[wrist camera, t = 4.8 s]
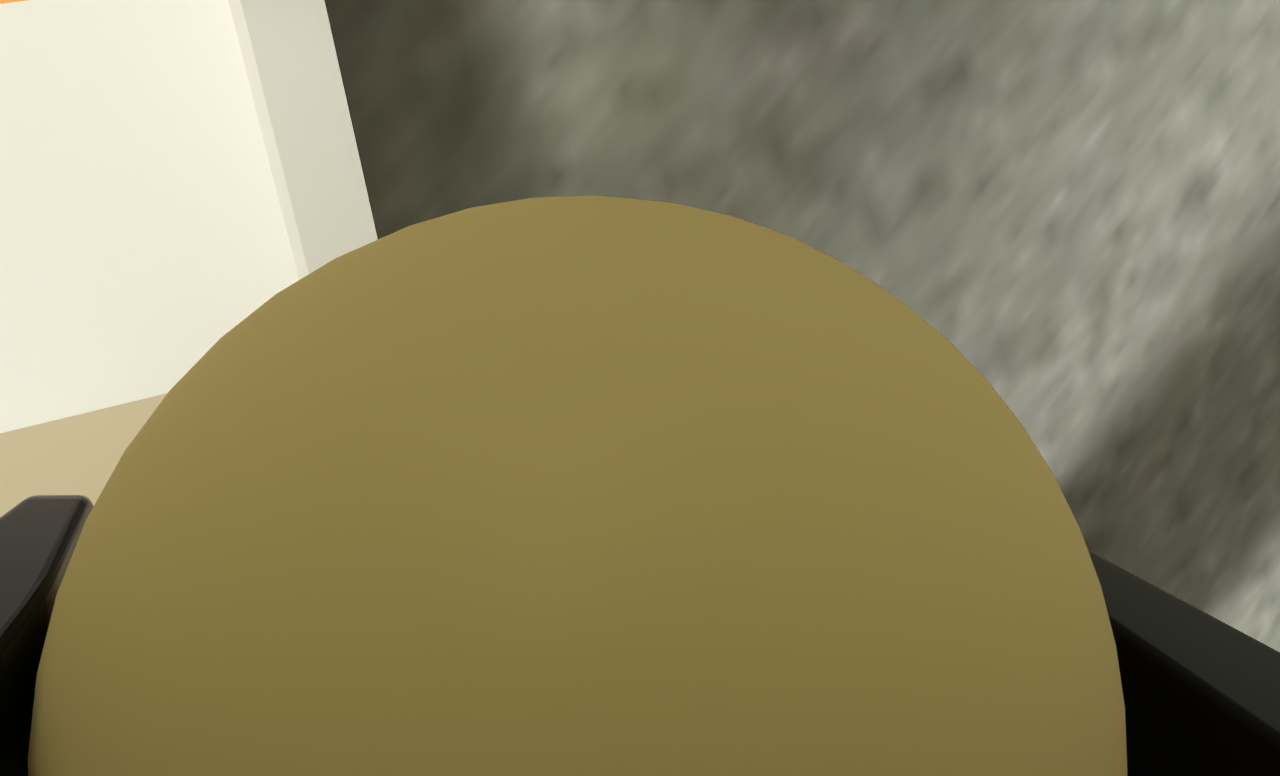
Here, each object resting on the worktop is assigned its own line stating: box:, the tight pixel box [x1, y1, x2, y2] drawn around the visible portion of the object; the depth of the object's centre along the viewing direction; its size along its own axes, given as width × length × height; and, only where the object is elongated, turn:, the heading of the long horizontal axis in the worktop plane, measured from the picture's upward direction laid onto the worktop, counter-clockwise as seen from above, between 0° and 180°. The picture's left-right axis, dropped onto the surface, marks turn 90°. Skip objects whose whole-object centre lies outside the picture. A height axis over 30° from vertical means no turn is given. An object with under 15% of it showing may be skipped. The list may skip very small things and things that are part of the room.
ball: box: [28, 195, 1127, 776], centre depth 8 cm, size 7×7×7 cm
